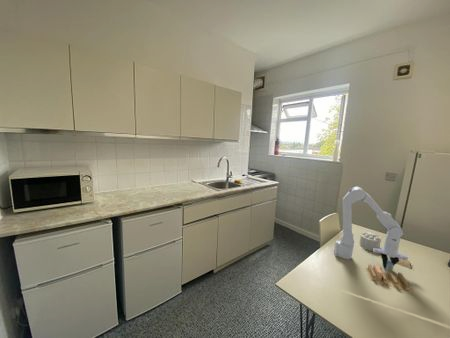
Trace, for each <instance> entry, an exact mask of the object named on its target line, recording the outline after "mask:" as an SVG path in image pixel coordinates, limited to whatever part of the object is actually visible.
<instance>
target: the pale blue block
mask: <svg viewBox="0 0 450 338" xmlns="http://www.w3.org/2000/svg"><path fill="white" fill-rule="evenodd" d="M387 258H388V260H387V263H386V268H384V269H385V271H386V273H387V272H388V270H391V271H392V272H393V270H394V266H393V263H392V262H391V260H390V259H389V257H388V256H387ZM381 265H383V262H382V264H381Z"/></svg>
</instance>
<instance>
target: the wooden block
mask: <svg viewBox="0 0 450 338" xmlns="http://www.w3.org/2000/svg"><path fill="white" fill-rule="evenodd" d="M372 267H373V270H374V272H375V274H376V276H377V277H376V280H379V281H381V279H382V274H383V273H382V271H381V269H382V268H381V269H380V266H379V264H376V263H373V265H372Z"/></svg>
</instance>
